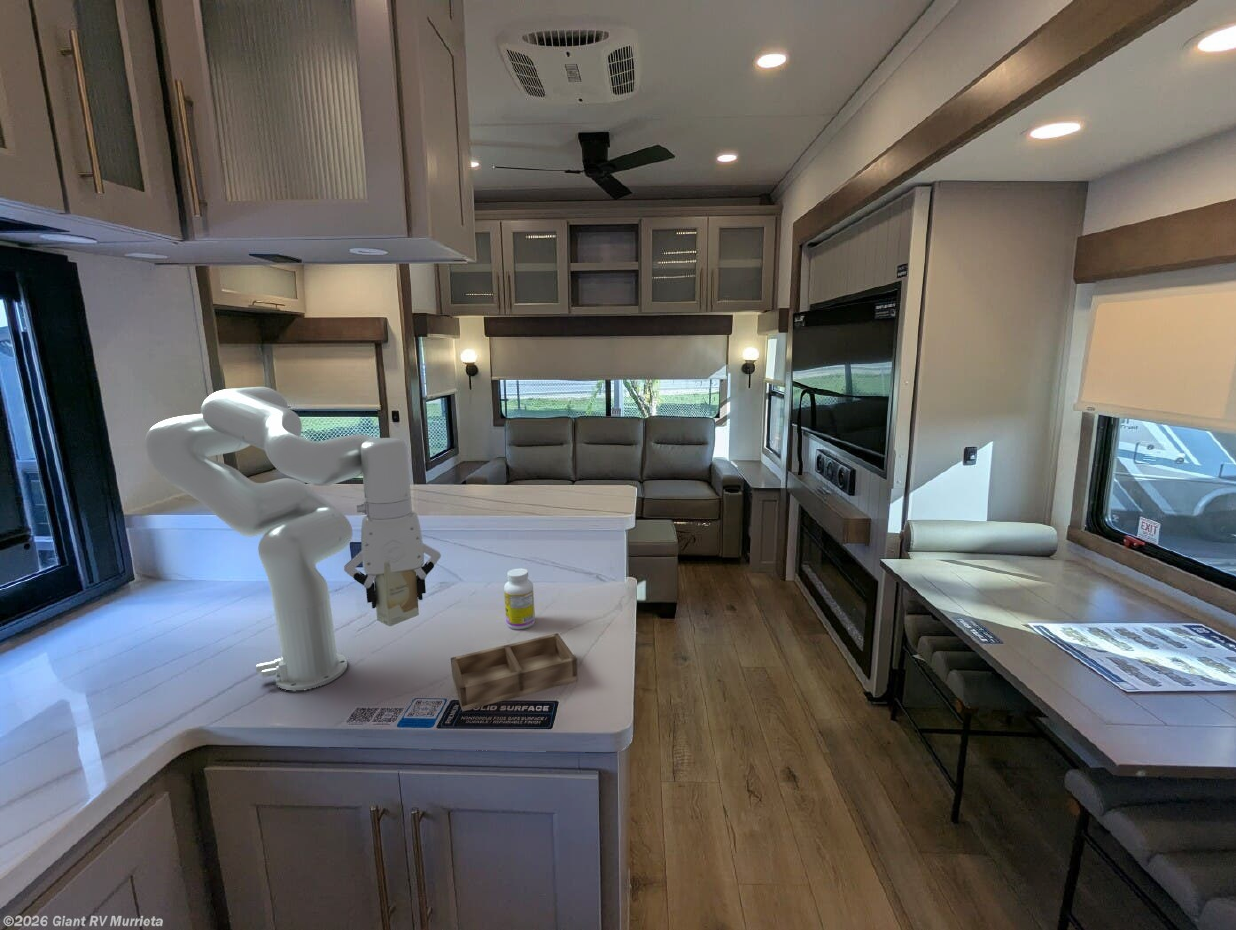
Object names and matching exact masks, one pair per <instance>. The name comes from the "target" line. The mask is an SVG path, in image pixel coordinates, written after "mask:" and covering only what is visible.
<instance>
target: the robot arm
mask: <svg viewBox="0 0 1236 930" xmlns="http://www.w3.org/2000/svg"><path fill="white" fill-rule="evenodd" d="M302 430H303V426H302V420H301V418H300V416H299V415H298V414H297V413H296V412H295V411H293V410H291V409H290V408H289V406H288V402H287V401H286V398H285V397H284V396H283V395H282V394H281V393H279V391H277V390H275V389H273V388H270V387H266V386H255V387H254V386H252V387H239V388H238V387H237V388H227V389H226V388H225V389H221V390H217V391H215V392H213V393H211V394H210V395H209V396H207V397H206V398H205V399H204V401H203V403H202V405H201V407H200V413H196V414H187V415H180V416H175V417H171V418H167V419H164V420H162V421H159V422H157V423H156V424H154V425H153V426H152V427H150V428H149V430H148V431H147V432H146V435H145V438H144V439H145V440H144V444H145V446H144V447H145V450H146V454H147V456H148V458H149V461H150V463H151V465H152V467H153V468H154V469H155V471H156V472H157V473H158V474H159V475H160V476H161V477H163V479H164V480H166V482H168V483H170V484H171V485H172V486H174V487H175V488H177V489H178V490H180V491H182V492H184V493H186V494H188V495H189V496H191V497H192V498H193V499H195V500H196V501H198V502H199V503H200V504H202V505H203V506H204V507H205V508H206V509H208V510H209V511H210V512H211V513H213V514H214V515H215V516H216V517H217V518H219V519H220V520H221V521H223V523H225V524H226V525H228V526H229V527H231V529H233V531H235V532H237V533H238V534H239V535H242V536H245V537H257V536H262V535H263V536H262V537H261V538H260V541H259V543H258V551H257V552H258V555H259V559H260V561H261V564H262V567H263V569H264V571H265V575H266V577H267V580H268V584H269V589H270V592H271V598H272V605H273V609H274V617H275V622H276V629H277V635H278V643H279V649H280V657H277V658H275V659H274V660H272V661H264V662H258V663H257V664H256V674H258V675H259V674H261V675H262V676H261V677H262V678H267V677H271V676H274V675H275V677H274V679H275V684H276V686H277V685H278V686H277V688H279V687H280V688H283V689H286V690H304V689H306V690H304V691H308V690H307V689H309V690H312V689H311V688H314V689H317V688H319V687H318V686H320V687H322V685H323V686H324V685H327V684H329V683H331V682H333V681H335V680H336V679H338V678H340V676H342V675H343V673H345V671H346V670H347V668H348V660H347V657H346V656H345V655H343V654H342V653H340V652H339V653H338V651H337V650H338V649H337V644H336V643H337V642H336V636H335V627H334V620H333V612H332V605H331V597H330V590H329V586H328V582H327V580H326V578H325V577H324V575H322V574H321V573H320V572H319V570H318V568H317V566H316V565H317V564H318V563H320V562H322V561H323V560H325V559H328V558H329V557H333V556H334V555H336V554H338V553H340V552H342V551H343V550H345V549H346V548H347V547H348V546H349V545H350V543H351V542H352V539H353V528H352V525H351V523H350V520H349V519H348V518H347V516H346V515H345V514H344V513H343V512H342V511H341V510H340V509H338V508H337V507H336V506H335V505H333V504H332V503H331V502H329V501H328V500H327V499H325V497H323V496H322V495H320V494H319V493H318V492H317V491H315V490H314V489H312V488H311V486H308V485H313V486H319V487H320V486H321V487H327V486H331V485H335V484H338V483H341V482H344V481H348V480H351V479H354V478H358V477H362V480H363V481H362V483H363V492H364V500H365V501H363V503H361V504H357V505H356V513H357V514H359V513H362V514H364V515H365V516H364V517H363V518H362V521H361V535H360V540H361V541H360V543H361V544H360V545H361V550H360V551H359V552H358V553H357V554H356V555H354V557H352V558H351V559H350V560H349V561H348V562H346V564H345V565H343V566H344V567H343V570H344V572H345V573H347V574H348V575H349V576H350V577H352V579H353V580H355V582H357V583H359V584H360V585H362V586H363V587H364V589H365V594H366V601H367V604H370V603H371V608H372V609H376V597H375V583H374V579H375V577H376V575H383V574H384V562H390V570H391V572H393V573H396V572H403V571H409V570H414V571H415V572H416V576H417V593H418V601H423V600H424V599H423V595H424V594H426V593H427V592H426V579H427V576H428V574H429V573H431V571H432V570H433V569H434V568H435V565H436V564H437V563H438V562H439V560H440V559H441V556H442V554H441V552H440V551H438V550H436V549H435V548H433V547H431V546H429V545H427V544H426V543H424V542H423V536H422V530H421V529H422V528H421V525H420V520H419V517H418V514H417V512H416V511H414V510H413V505H412V493H411V482H410V481H411V480H410V470H409V469H410V468H409V457H408V456H409V455H408V448H407V447H408V446H407V444H406V442H405V441H404V440H402V439H401V438H397V437H380V438H379V437H374V436H370V435H367V434H359V433H356V434H349V435H344V436H338V437H333V438H327V439H325V440H320V441H313V440H311V439H307V438H304V437H301V435H302ZM250 446H253V447H254V448H258V449H260V450H262V451H265V454H266V456H267V458H268V460H269V461H270V463H271V464H272V465H273V467H275V469H277V470H278V472H280V473H282V474H283V475H286V476H287V477H288V478H287V477H286V478H285V477H284V478H278V479H275V480H270V481H266V482H255V481H253V480H251V479H249V478H248V477H247V476H245V475H244V474H242V472H240V471H239V470H238V469H237V468H234V467H233V466H231V465H228V464H226V463H223V462H220V461H217V460H215V459H212V458H209V457H213V456H215V457H216V456H219V455H225V454H229V453H234V452H238V451H241V450H244V449H246V448H249V447H250ZM425 554H426V555H428V556H429V559H428V560H426V562H425ZM360 564H362V568H363V571H364V573H365V574H364V573H363V572H362V571H360V570H358V569H357V568H356V567H358V566H359V565H360ZM316 687H317V688H316ZM280 688H279V689H280ZM286 690H285V691H286Z"/></svg>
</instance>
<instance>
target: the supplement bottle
mask: <svg viewBox="0 0 1236 930" xmlns="http://www.w3.org/2000/svg"><path fill="white" fill-rule="evenodd" d="M507 580H508V581H506V583H505V584H504V586H503V591H504V592H503V593H504V610H505V622H506V625H507V627H508V628H510V629H512V630H524V629H527V628H531V627H532V626H533V625H534V624H535V622H536V614H535V613H536V612H535V610H536V609H535V597H534V595H535V594H534V584H533V582H532V581H531V579H529V571H528V569H526V568H513V569H510V570H509V571H507Z"/></svg>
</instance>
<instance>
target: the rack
mask: <svg viewBox="0 0 1236 930" xmlns="http://www.w3.org/2000/svg"><path fill="white" fill-rule="evenodd" d="M577 661H578V659H577V658H576V656H575V654H573V652H572V651H571V649H570V648H569V646H568V645H567V644H566V642H565V641H564V640H563V639H562V637H561V635H560V634H559V633H552V634H548V635H545V636H540V637H535V638H531V639H527V640H522V641H518V642H513V643H509V644H504V645H501V646H496V647H492V648H488V649H484V650H479V651H475V652H470V653H466V654H461V655H457V656H453V657H450V664H451V665H450V667H451V677H452V678H451V679H452V681H453V685H454V688H455V691H456V696H457V699H458V702H459V705H460V708H461V711H462V712H466V711H470V710H473V708H474V709H478V708H480V707H485V706H488V705H491V704H495V703H500V702H503V701H506V700H510V699H513V698H517V697H518V698H519V697H520V696H522V697H523V696H526V695H529V694H532V693H536V692H540V691H543V690H547V689H551V688H555V687H559V686H561V685H565V684H569V683H572V682H577V681H578V664H577V663H578V662H577Z"/></svg>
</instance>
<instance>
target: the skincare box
mask: <svg viewBox="0 0 1236 930" xmlns="http://www.w3.org/2000/svg"><path fill="white" fill-rule="evenodd" d="M373 582H374V586H375V597H376V607H375V609H376V621H377V622H380V623H381V624H384V625H386V626H387V627H392V626H394V625H397V624H400V623H403V622H405V621H407V620H410V619H413V618H415V617H417V616H419V615H420V613H419V611H420V610H419V600H418V593H417V573H416V572H415V571H414V570H409V571H403V572H396V573H393V572H391V570H390V562H384V574H383V575H376V577H375V579H374V581H373Z"/></svg>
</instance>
